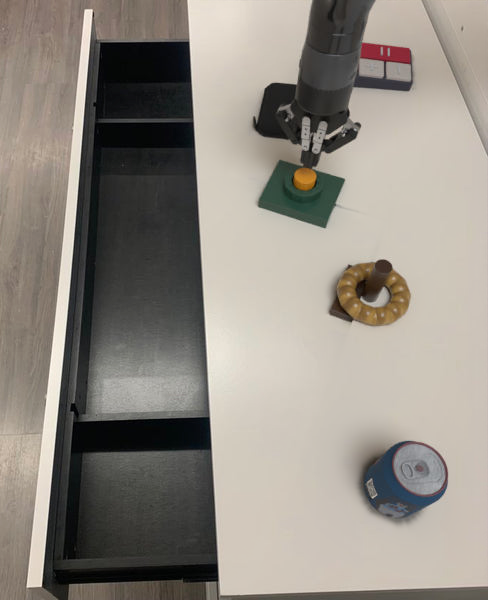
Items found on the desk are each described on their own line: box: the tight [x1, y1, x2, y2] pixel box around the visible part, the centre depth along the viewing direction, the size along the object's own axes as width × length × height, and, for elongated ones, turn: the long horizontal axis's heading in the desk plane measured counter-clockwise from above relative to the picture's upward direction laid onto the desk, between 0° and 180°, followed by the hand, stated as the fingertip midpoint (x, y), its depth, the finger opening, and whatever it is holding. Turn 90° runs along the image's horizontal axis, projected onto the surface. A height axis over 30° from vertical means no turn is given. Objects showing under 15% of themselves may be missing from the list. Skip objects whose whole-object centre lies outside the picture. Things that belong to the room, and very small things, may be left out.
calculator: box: [353, 41, 414, 92], centre depth 106 cm, size 11×4×15 cm
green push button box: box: [257, 159, 346, 229], centre depth 90 cm, size 12×10×4 cm
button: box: [293, 168, 316, 191], centre depth 88 cm, size 4×4×2 cm
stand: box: [328, 258, 394, 324], centre depth 77 cm, size 9×9×10 cm
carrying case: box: [252, 82, 297, 141], centre depth 101 cm, size 11×3×15 cm
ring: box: [336, 261, 412, 326], centre depth 78 cm, size 10×10×3 cm
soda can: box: [363, 440, 449, 519], centre depth 62 cm, size 7×7×12 cm
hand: (308, 164), depth 85 cm, fingers closed
